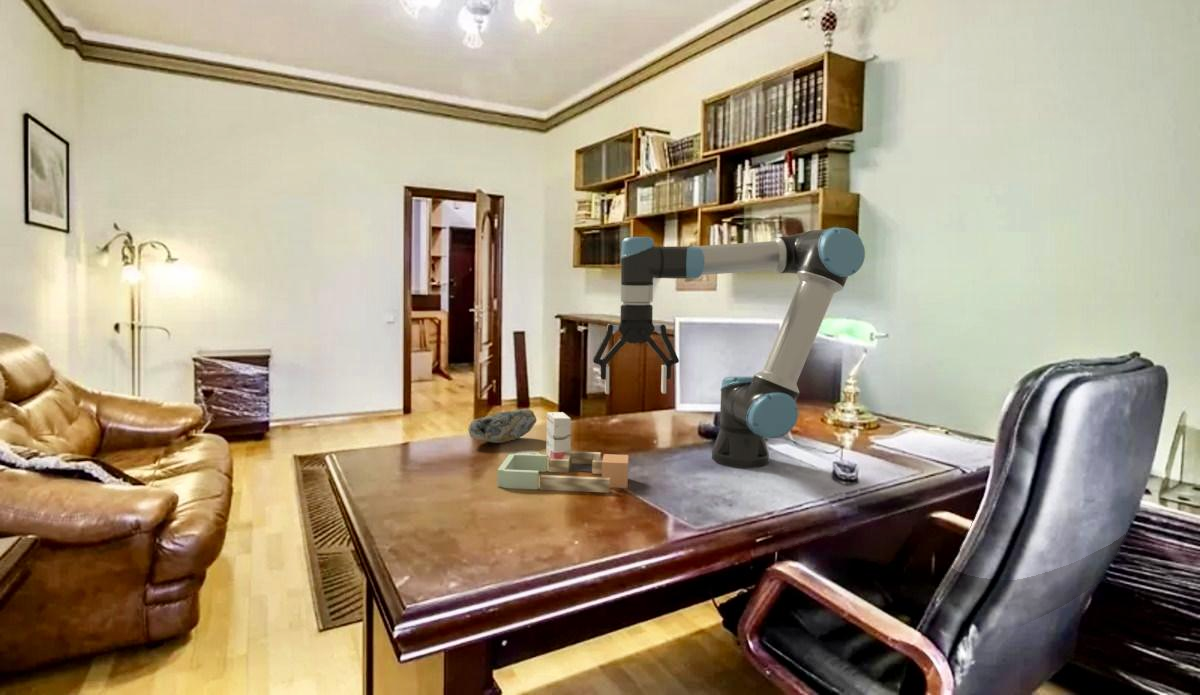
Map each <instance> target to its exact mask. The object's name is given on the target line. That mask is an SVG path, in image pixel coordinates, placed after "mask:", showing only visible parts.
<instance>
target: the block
mask: <svg viewBox="0 0 1200 695" xmlns="http://www.w3.org/2000/svg"><path fill="white" fill-rule="evenodd" d="M601 461H602V474H601V477H602V478H610V488H622V489H623V488H624V489H627V488H628V482H629V481H628V480H629V454H614V453H613V454H610V453H603V457H602V460H601Z"/></svg>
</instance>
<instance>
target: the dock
mask: <svg viewBox="0 0 1200 695" xmlns="http://www.w3.org/2000/svg"><path fill="white" fill-rule="evenodd" d="M496 471H497V475H496V476H497V479H496V480H497V488H498V487H499V488H503V489H514V490H515V489H517V490H539V489H540V473H539V472H543V473H546V472H547V471H548V455H547V454H540V453H517V452H516V453H509V454H508V455H507V456H506V458H505V459H504V461H503V462H502V463H501V465H500V466H499V467H498V468H497V470H496Z"/></svg>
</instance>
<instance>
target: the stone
mask: <svg viewBox="0 0 1200 695" xmlns="http://www.w3.org/2000/svg"><path fill="white" fill-rule="evenodd" d="M536 422H537V417H536V415H535V413H534V411H533V410H532V409H528V408H520V409H515V410H507V411H506V410H505V411H500V412H496V413H494V414H492V415H488V416H485V417H481V418H475V419H473V420H472V421H470V423H469V425H468V434H469V437H471V439H473V440H476V441H481V442H487V443H488V442H489V443H493V444H495V443H496V444H499V443H500V444H503V443H509V442H511V440H512V441H514V440H518V439H520V438H522V437H524V436H525V435H526V434H528V433H529V432H530V431H531V430H532V429H533V427H534V426H535V424H536Z"/></svg>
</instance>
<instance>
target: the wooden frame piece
mask: <svg viewBox="0 0 1200 695" xmlns="http://www.w3.org/2000/svg"><path fill="white" fill-rule="evenodd" d="M601 454H602V452H598V451H574V450H573V451H572V450H571V451H566V454H565V456H564V458H563V459H551V458H548V459H547V471H548V472H549V473H568V474H569V472H587V473H589V472H591V474H594V475H602V461H603V460H601ZM539 490H541V491H542V490H543V491H544V490H545V491H562V492H563V491H564V492H567V491H568V492H586V493H587V492H588V493H590V492H591V493H606V494H607V493H610V490H611V487H610V478H602V476H601V477H596V476H576V475H556V474H555V475H551V474H540V475H539Z"/></svg>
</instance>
